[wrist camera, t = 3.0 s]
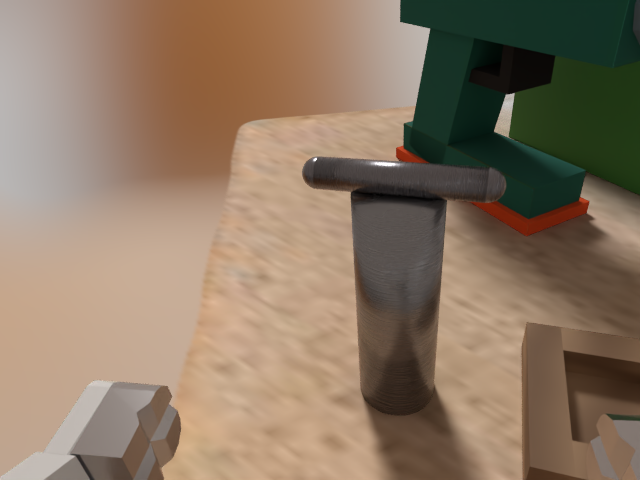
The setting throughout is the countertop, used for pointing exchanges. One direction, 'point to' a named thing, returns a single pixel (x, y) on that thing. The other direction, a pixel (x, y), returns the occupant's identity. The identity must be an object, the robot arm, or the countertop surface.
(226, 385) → the countertop surface
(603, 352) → the brown square frame
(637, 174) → the hardback book
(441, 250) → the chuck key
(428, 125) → the power tool
